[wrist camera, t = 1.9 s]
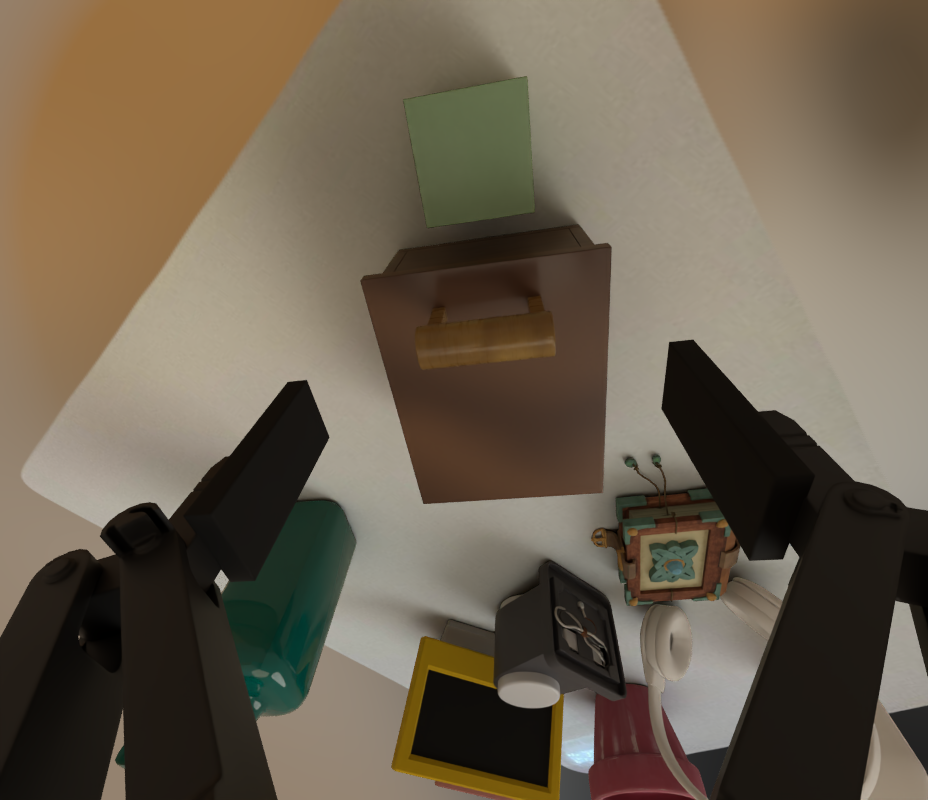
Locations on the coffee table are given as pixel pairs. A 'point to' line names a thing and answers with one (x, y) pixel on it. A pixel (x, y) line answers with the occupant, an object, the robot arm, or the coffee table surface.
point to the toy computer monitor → (475, 724)
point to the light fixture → (556, 642)
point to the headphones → (671, 655)
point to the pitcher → (289, 607)
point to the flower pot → (635, 753)
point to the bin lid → (499, 371)
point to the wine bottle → (897, 764)
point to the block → (473, 152)
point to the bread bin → (489, 248)
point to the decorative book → (671, 545)
